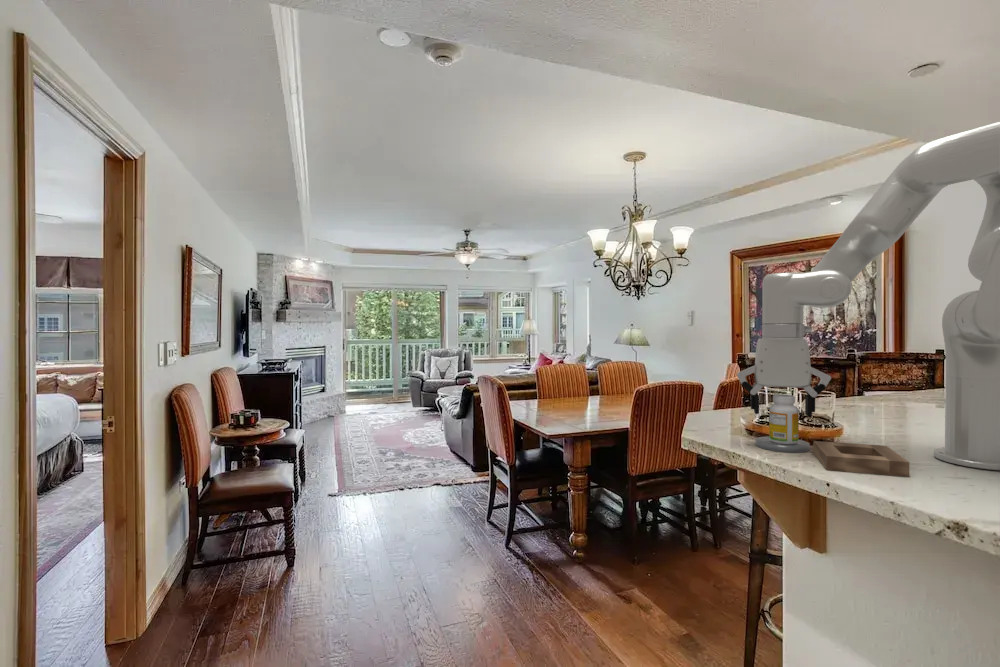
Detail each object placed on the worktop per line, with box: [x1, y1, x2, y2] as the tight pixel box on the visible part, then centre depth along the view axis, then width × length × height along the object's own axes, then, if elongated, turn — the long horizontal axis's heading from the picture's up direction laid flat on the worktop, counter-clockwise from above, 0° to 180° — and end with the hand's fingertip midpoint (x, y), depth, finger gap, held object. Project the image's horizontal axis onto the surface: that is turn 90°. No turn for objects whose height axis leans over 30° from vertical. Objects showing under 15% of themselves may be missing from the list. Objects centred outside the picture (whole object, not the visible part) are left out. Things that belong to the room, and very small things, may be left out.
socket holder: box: [812, 440, 911, 478], centre depth 95 cm, size 12×12×2 cm
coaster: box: [754, 435, 811, 454], centre depth 108 cm, size 10×10×1 cm
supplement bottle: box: [768, 394, 800, 444], centre depth 108 cm, size 5×5×10 cm
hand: (782, 414), depth 108 cm, fingers open, 9 cm apart
